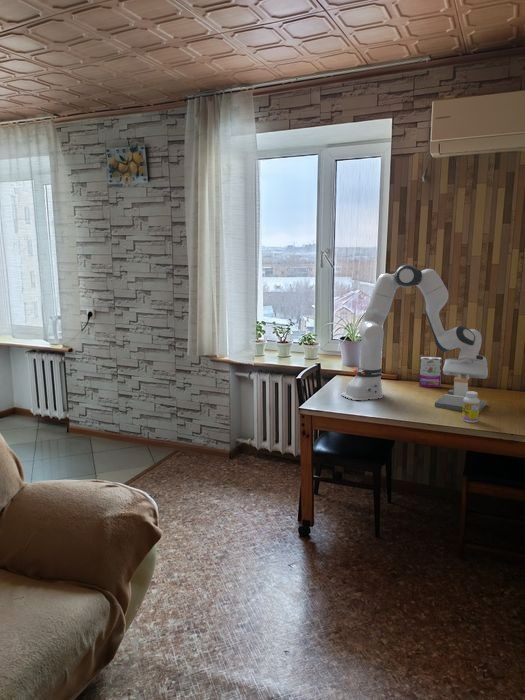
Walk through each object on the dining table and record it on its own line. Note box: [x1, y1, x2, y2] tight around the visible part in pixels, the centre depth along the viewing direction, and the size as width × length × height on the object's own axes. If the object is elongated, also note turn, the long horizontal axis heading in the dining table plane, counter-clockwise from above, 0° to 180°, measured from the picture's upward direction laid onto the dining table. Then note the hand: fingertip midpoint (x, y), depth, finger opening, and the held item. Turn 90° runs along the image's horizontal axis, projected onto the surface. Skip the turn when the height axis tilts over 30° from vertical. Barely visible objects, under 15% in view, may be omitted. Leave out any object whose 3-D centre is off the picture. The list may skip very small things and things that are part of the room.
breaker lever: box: [453, 376, 469, 397], centre depth 238 cm, size 2×6×12 cm, turn 55°
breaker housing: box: [434, 389, 487, 414], centre depth 240 cm, size 16×20×7 cm
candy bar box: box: [418, 356, 443, 389], centre depth 277 cm, size 11×5×16 cm, turn 68°
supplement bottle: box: [461, 390, 480, 424], centre depth 218 cm, size 7×7×13 cm
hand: (462, 383), depth 238 cm, fingers closed, pressing on breaker lever
